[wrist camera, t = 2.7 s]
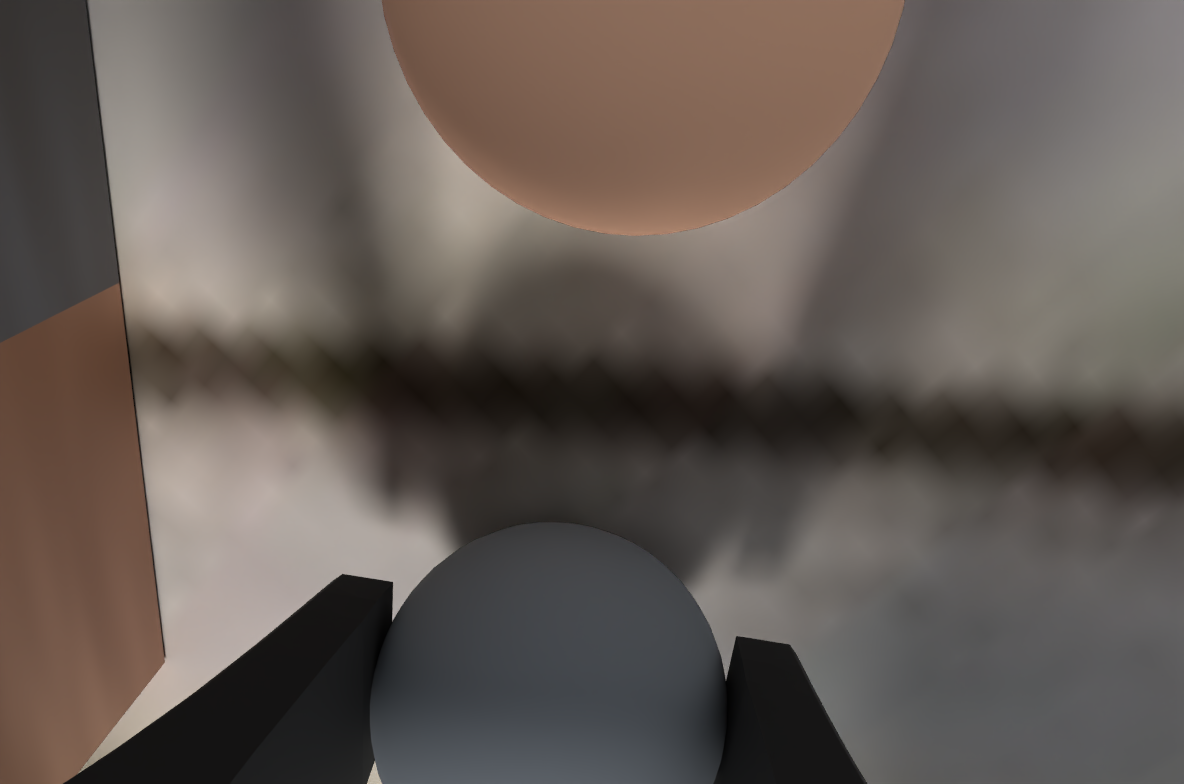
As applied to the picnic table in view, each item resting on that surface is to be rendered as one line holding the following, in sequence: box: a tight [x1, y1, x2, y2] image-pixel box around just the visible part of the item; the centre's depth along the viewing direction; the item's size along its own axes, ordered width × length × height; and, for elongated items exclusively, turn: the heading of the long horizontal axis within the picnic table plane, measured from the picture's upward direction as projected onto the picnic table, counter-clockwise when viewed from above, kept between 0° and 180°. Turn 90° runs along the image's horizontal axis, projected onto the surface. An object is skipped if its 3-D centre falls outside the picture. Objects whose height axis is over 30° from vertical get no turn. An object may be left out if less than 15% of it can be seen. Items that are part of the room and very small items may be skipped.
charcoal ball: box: [370, 522, 727, 784], centre depth 10 cm, size 4×4×4 cm
